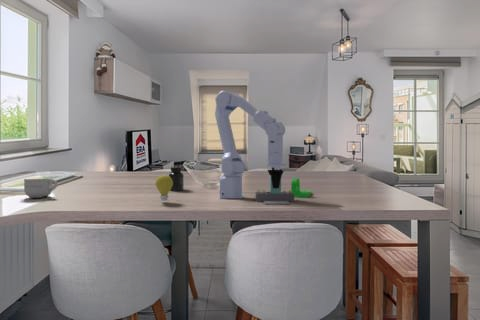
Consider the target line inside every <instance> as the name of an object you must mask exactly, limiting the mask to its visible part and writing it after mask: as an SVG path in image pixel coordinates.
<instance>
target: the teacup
mask: <svg viewBox="0 0 480 320" xmlns="http://www.w3.org/2000/svg"><path fill="white" fill-rule="evenodd" d="M23 181H24V183H23V189H24V190H23V192H24V194H25V196H28V198H43V197H42V196H48V197H49V196H50V195H51V194H52V192H53V191H54V190H56V189H57V187H58V181H57V180H56V179H54V178H37V179H36V178H29V179H28V178H26V179H23Z"/></svg>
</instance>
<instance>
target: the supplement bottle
mask: <svg viewBox="0 0 480 320" xmlns="http://www.w3.org/2000/svg"><path fill="white" fill-rule="evenodd" d="M182 171H183V170H182V167H181V166H175V167H174V166H171V167H170V173H169V174H168V176H169V177H171V179H172V181H173V185H172V187H171V189H170V191H169V192H182V191H184V184H185V181H184V179H185V178H184V177H185V176H184V174H183V172H182Z"/></svg>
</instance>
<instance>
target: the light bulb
mask: <svg viewBox="0 0 480 320" xmlns="http://www.w3.org/2000/svg"><path fill="white" fill-rule="evenodd" d="M172 185H173V181H172V179H171V177H169V175H168V174H162V175H159V176H158V177H157V178H156V180H155V186H156V188H157V191H158V192H159V193H160V195H159V198H161V199H160V200H161V202H162V201H163V202H166V201H168V198H169V192H171V191H170V189H171V187H172Z"/></svg>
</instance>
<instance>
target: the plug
mask: <svg viewBox="0 0 480 320" xmlns="http://www.w3.org/2000/svg"><path fill="white" fill-rule="evenodd" d="M282 176H283V175H282ZM282 176H281V180H280V185H279V188H273V185H272V179H271V175H268V177H269V192H270V193H281V192H282V178H283V177H282Z"/></svg>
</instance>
